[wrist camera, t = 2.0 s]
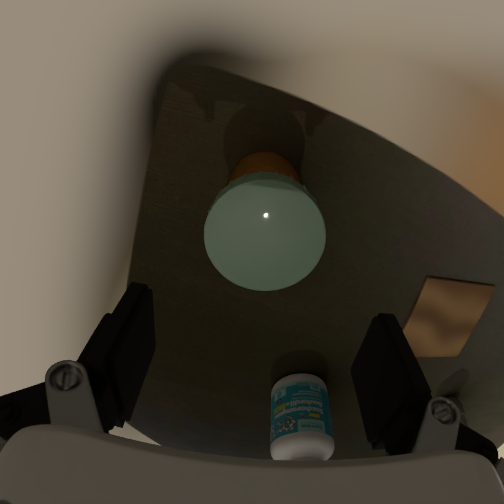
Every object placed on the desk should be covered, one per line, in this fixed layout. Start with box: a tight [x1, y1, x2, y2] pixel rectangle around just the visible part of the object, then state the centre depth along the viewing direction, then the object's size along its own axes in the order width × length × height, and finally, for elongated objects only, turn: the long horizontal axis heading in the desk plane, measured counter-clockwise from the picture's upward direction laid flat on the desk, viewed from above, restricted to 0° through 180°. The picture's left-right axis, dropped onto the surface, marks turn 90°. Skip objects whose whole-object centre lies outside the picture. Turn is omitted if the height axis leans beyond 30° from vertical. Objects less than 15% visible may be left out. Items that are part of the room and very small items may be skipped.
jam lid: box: [204, 171, 326, 291], centre depth 19 cm, size 7×7×2 cm
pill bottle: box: [271, 373, 334, 461], centre depth 34 cm, size 8×7×14 cm
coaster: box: [402, 276, 495, 357], centre depth 34 cm, size 12×12×1 cm
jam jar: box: [225, 152, 304, 187], centre depth 23 cm, size 6×6×11 cm
